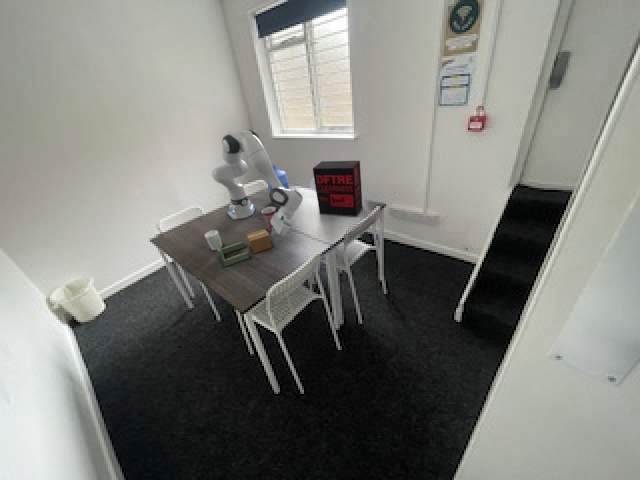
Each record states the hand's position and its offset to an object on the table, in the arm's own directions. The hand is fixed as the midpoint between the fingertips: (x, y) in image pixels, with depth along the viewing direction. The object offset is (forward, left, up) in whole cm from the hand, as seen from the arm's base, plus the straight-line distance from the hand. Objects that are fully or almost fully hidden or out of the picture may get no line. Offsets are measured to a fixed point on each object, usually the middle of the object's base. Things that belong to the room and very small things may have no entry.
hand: (272, 235), depth 154 cm
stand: (-9, -21, -5) cm, 23 cm away
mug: (-15, +13, -5) cm, 20 cm away
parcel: (-3, -7, -5) cm, 9 cm away
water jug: (-48, +46, -5) cm, 66 cm away
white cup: (-28, -23, -5) cm, 37 cm away
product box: (+9, +53, -5) cm, 54 cm away
